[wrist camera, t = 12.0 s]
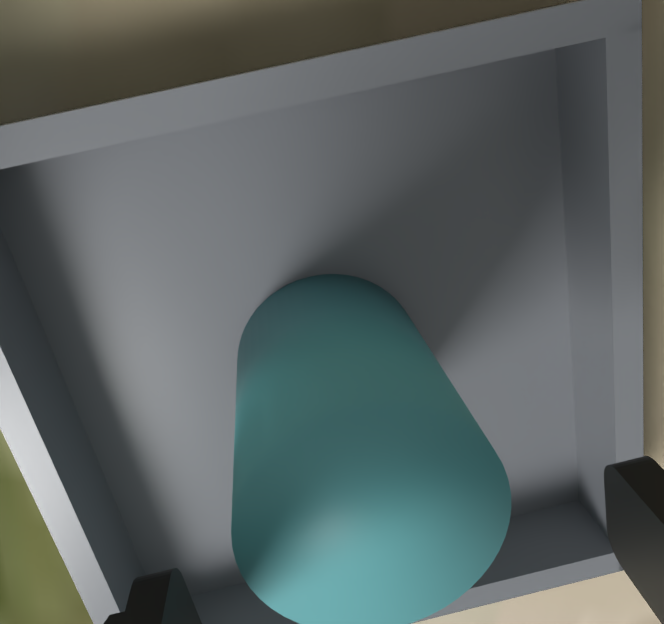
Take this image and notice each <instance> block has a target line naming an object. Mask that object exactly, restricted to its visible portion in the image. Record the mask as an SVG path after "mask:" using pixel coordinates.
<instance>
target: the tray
mask: <svg viewBox="0 0 664 624" xmlns="http://www.w3.org/2000/svg"><path fill="white" fill-rule="evenodd" d="M322 274H342V275H350V276H354V277H359V278H362V279H364V280H367V281H370V282H372V283H374V284H376V285H378V286H380V287H381V288H383V289H384V290H386V291H387V292H388V293H390V294H391V295H392V296H393V297H394V298H395V299H396V300H397V301H398V302H399V303H400V304H401V306H402V307H403V308H404V309H405V311H406V313H407V314H408V316H409V317H410V319H411V320H412V322H413V323H414V325H415V327H416V328H417V330H418V331H419V333H420V334H421V336H422V338H423V339H424V341H425V342H426V344H427V345H428V347H429V348H430V350H431V352H432V353H433V355H434V356H435V358H436V359H437V361H438V362H439V364H440V366H441V367H442V369H443V370H444V372H445V373H446V375H447V377H448V378H449V380H450V381H451V383H452V384H453V386H454V387H455V389H456V391H457V392H458V394H459V395H460V397H461V398H462V400H463V402H464V403H465V405H466V406H467V408H468V409H469V411H470V412H471V414H472V416H473V417H474V419H475V420H476V422H477V423H478V425H479V426H480V428H481V430H482V431H483V433H484V434H485V436H486V437H487V439H488V441H489V442H490V444H491V445H492V447H493V448H494V450H495V451H496V453H497V455H498V457H499V458H500V460H501V462H502V464H503V466H504V469H505V471H506V474H507V477H508V480H509V485H510V490H511V515H510V522H509V526H508V530H507V533H506V537H505V539H504V541H503V544H502V546H501V548H500V550H499V552H498V554H497V556H496V557H495V559H494V561H493V562H492V564H491V565H490V566H489V568H488V569H487V570H486V572H485V573H484V574H483V576H482V577H481V578H480V579H479V580H478V581H477V582H476V583H475V584H474V585H473V586H472V587H471V588H470V589H469V590H468V591H466V592H465V593H464V594H463V595H462V596H460V597H459V598H458V599H456V600H455V601H453V602H452V603H450V604H449V605H447V606H446V607H444V608H443V609H441V610H439V611H437V612H435V613H433V614H432V615H430V616H428V617H425V618H423V619H420V620H418V621H416V622H419V621H423V620H427V619H431V618H435V617H439V616H443V615H447V614H451V613H455V612H459V611H463V610H467V609H471V608H475V607H479V606H483V605H487V604H491V603H495V602H499V601H503V600H507V599H511V598H515V597H519V596H523V595H527V594H531V593H535V592H539V591H543V590H547V589H551V588H555V587H559V586H563V585H567V584H571V583H575V582H579V581H583V580H587V579H591V578H595V577H599V576H603V575H607V574H611V573H615V572H619V571H623V570H624V569H623V568H622V567H621V565H620V564H619V562H618V560H617V558H616V556H615V554H614V552H613V550H612V547H611V545H610V541H609V538H608V533H607V525H606V507H605V489H604V469H605V467H606V466H607V465H610V464H614V463H618V462H623V461H627V460H631V459H635V458H639V457H643V195H642V0H578V1H573V2H569V3H564V4H559V5H555V6H550V7H545V8H541V9H536V10H531V11H527V12H522V13H518V14H513V15H508V16H504V17H499V18H494V19H490V20H485V21H480V22H476V23H471V24H466V25H462V26H457V27H453V28H448V29H443V30H439V31H434V32H429V33H425V34H420V35H415V36H411V37H406V38H401V39H397V40H392V41H388V42H383V43H378V44H374V45H369V46H364V47H360V48H355V49H350V50H346V51H341V52H336V53H332V54H327V55H323V56H318V57H313V58H309V59H304V60H299V61H295V62H290V63H285V64H281V65H276V66H271V67H267V68H262V69H258V70H253V71H248V72H244V73H239V74H234V75H230V76H225V77H220V78H216V79H211V80H206V81H202V82H197V83H193V84H188V85H183V86H179V87H174V88H169V89H165V90H160V91H155V92H151V93H146V94H141V95H137V96H132V97H128V98H123V99H118V100H114V101H109V102H104V103H100V104H95V105H90V106H86V107H81V108H76V109H72V110H67V111H63V112H58V113H53V114H49V115H44V116H39V117H35V118H30V119H25V120H21V121H16V122H11V123H7V124H2V125H0V429H1V431H2V433H3V435H4V437H5V439H6V441H7V443H8V445H9V448H10V450H11V452H12V454H13V456H14V458H15V460H16V462H17V464H18V466H19V468H20V471H21V473H22V475H23V477H24V479H25V481H26V483H27V485H28V487H29V489H30V491H31V494H32V496H33V498H34V500H35V502H36V504H37V506H38V508H39V510H40V512H41V514H42V517H43V519H44V521H45V523H46V525H47V527H48V529H49V531H50V533H51V535H52V537H53V540H54V542H55V544H56V546H57V548H58V550H59V552H60V554H61V556H62V558H63V560H64V563H65V565H66V567H67V569H68V571H69V573H70V575H71V577H72V579H73V581H74V583H75V586H76V588H77V590H78V592H79V594H80V596H81V598H82V600H83V602H84V604H85V606H86V609H87V611H88V613H89V615H90V617H91V619H92V621H93V623H94V624H104V622H105V621H106V619H107V618H108V616H109V615H111V614H115V613H119V612H124V611H125V609H126V605H127V601H128V597H129V593H130V589H131V586H132V583H133V581H134V579H135V578H137V577H140V576H144V575H148V574H152V573H156V572H161V571H165V570H169V569H173V568H177V569H179V571H180V572H181V574H182V576H183V578H184V581H185V583H186V586H187V588H188V591H189V593H190V596H191V598H192V601H193V603H194V605H195V608H196V610H197V613H198V615H199V618H200V620H201V623H202V624H299V623H297V622H295V621H293V620H290V619H288V618H286V617H284V616H282V615H281V614H279V613H278V612H276V611H274V610H273V609H271V608H270V607H269V606H268V605H266V604H265V603H264V602H263V601H262V600H260V599H259V598H258V596H257V595H256V594H255V593H254V592H253V591H252V590H251V589H250V587H249V586H248V584H247V583H246V581H245V580H244V578H243V577H242V575H241V573H240V570H239V568H238V566H237V563H236V561H235V557H234V553H233V549H232V539H231V518H232V491H233V463H234V436H235V408H236V381H237V357H238V348H239V343H240V339H241V336H242V333H243V331H244V328H245V326H246V324H247V323H248V321H249V319H250V317H251V316H252V315H253V313H254V312H255V311H256V309H257V308H258V307H259V306H260V305H261V304H262V303H263V302H264V301H265V300H266V299H267V298H268V297H269V296H271V295H272V294H273V293H275V292H276V291H277V290H279V289H281V288H282V287H284V286H286V285H288V284H290V283H292V282H295V281H297V280H300V279H303V278H307V277H310V276H316V275H322ZM413 623H415V622H413ZM410 624H411V623H410Z"/></svg>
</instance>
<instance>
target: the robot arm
mask: <svg viewBox="0 0 664 624" xmlns="http://www.w3.org/2000/svg"><path fill="white" fill-rule="evenodd" d="M604 489H605V507H606V525H607V533H608V538H609V541H610V545H611V547H612V550H613V552H614V554H615V556H616V558H617V560H618V562H619V564H620V565H621V567H622V568H623V569H624V571H625V572H626V574H627V575H628V577H629V578H630V579H631V581H632V582H633V584H634V585H635V586H636V588H637V589H638V591H639V592H640V594H641V595H642V596H643V598H644V599H645V601H646V602H647V603H648V605H649V606H650V608H651V609H652V610H653V612H654V613H655V615H656V616H657V618H658V619H659V620H660V622H661V623H662V624H664V470H663V469H662V468H661V467H660V466H659V464H658V463H657V462H656V461H654V460H653V459H652V458H651V457H648V456H643V457H639V458H635V459H631V460H627V461H623V462H618V463H614V464H610V465H607V466H606V467H605V469H604ZM104 624H202V623H201V620H200V618H199V615H198V613H197V610H196V608H195V605H194V603H193V601H192V598H191V596H190V593H189V591H188V588H187V586H186V583H185V581H184V578H183V576H182V574H181V572H180V571H179V569H177V568H173V569H169V570H165V571H161V572H156V573H152V574H148V575H144V576H140V577H137V578H135V579H134V581H133V583H132V586H131V589H130V593H129V597H128V601H127V605H126V609H125V611H124V612H119V613H115V614H111V615H109V616H108V618H107V619H106V621H105V622H104Z"/></svg>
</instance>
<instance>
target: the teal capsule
mask: <svg viewBox="0 0 664 624" xmlns="http://www.w3.org/2000/svg"><path fill="white" fill-rule="evenodd" d="M510 515H511V490H510V485H509V480H508V477H507V474H506V471H505V469H504V466H503V464H502V462H501V460H500V458H499V457H498V455H497V453H496V451H495V450H494V448H493V447H492V445H491V444H490V442H489V441H488V439H487V437H486V436H485V434H484V433H483V431H482V430H481V428H480V426H479V425H478V423H477V422H476V420H475V419H474V417H473V416H472V414H471V412H470V411H469V409H468V408H467V406H466V405H465V403H464V402H463V400H462V398H461V397H460V395H459V394H458V392H457V391H456V389H455V387H454V386H453V384H452V383H451V381H450V380H449V378H448V377H447V375H446V373H445V372H444V370H443V369H442V367H441V366H440V364H439V362H438V361H437V359H436V358H435V356H434V355H433V353H432V352H431V350H430V348H429V347H428V345H427V344H426V342H425V341H424V339H423V338H422V336H421V334H420V333H419V331H418V330H417V328H416V327H415V325H414V323H413V322H412V320H411V319H410V317H409V316H408V314H407V313H406V311H405V309H404V308H403V307H402V306H401V304H400V303H399V302H398V301H397V300H396V299H395V298H394V297H393V296H392V295H391V294H390V293H388V292H387V291H386V290H384V289H383V288H381V287H380V286H378V285H376V284H374V283H372V282H370V281H367V280H364V279H362V278H359V277H354V276H350V275H342V274H322V275H316V276H310V277H307V278H303V279H300V280H297V281H295V282H292V283H290V284H288V285H286V286H284V287H282V288H281V289H279V290H277V291H276V292H275V293H273V294H272V295H271V296H269V297H268V298H267V299H266V300H265V301H264V302H263V303H262V304H261V305H260V306H259V307H258V308H257V309H256V311H255V312H254V313H253V315H252V316H251V317H250V319H249V321H248V323H247V324H246V326H245V328H244V331H243V333H242V336H241V339H240V343H239V348H238V357H237V381H236V408H235V436H234V463H233V491H232V518H231V539H232V549H233V553H234V557H235V561H236V563H237V566H238V568H239V570H240V573H241V575H242V577H243V578H244V580H245V581H246V583H247V584H248V586H249V587H250V589H251V590H252V591H253V592H254V593H255V594H256V595H257V596H258V598H259V599H260V600H262V601H263V602H264V603H265V604H266V605H268V606H269V607H270V608H271V609H273V610H274V611H276V612H278V613H279V614H281V615H282V616H284V617H286V618H288V619H290V620H293V621H295V622H297V623H299V624H410V623H413V622H416V621H418V620H420V619H423V618H425V617H428V616H430V615H432V614H433V613H435V612H437V611H439V610H441V609H443V608H444V607H446V606H447V605H449V604H450V603H452V602H453V601H455V600H456V599H458V598H459V597H460V596H462V595H463V594H464V593H465V592H466V591H468V590H469V589H470V588H471V587H472V586H473V585H474V584H475V583H476V582H477V581H478V580H479V579H480V578H481V577H482V576H483V574H484V573H485V572H486V570H487V569H488V568H489V566H490V565H491V564H492V562H493V561H494V559H495V557H496V556H497V554H498V552H499V550H500V548H501V546H502V544H503V541H504V539H505V537H506V533H507V530H508V526H509V522H510Z"/></svg>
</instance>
